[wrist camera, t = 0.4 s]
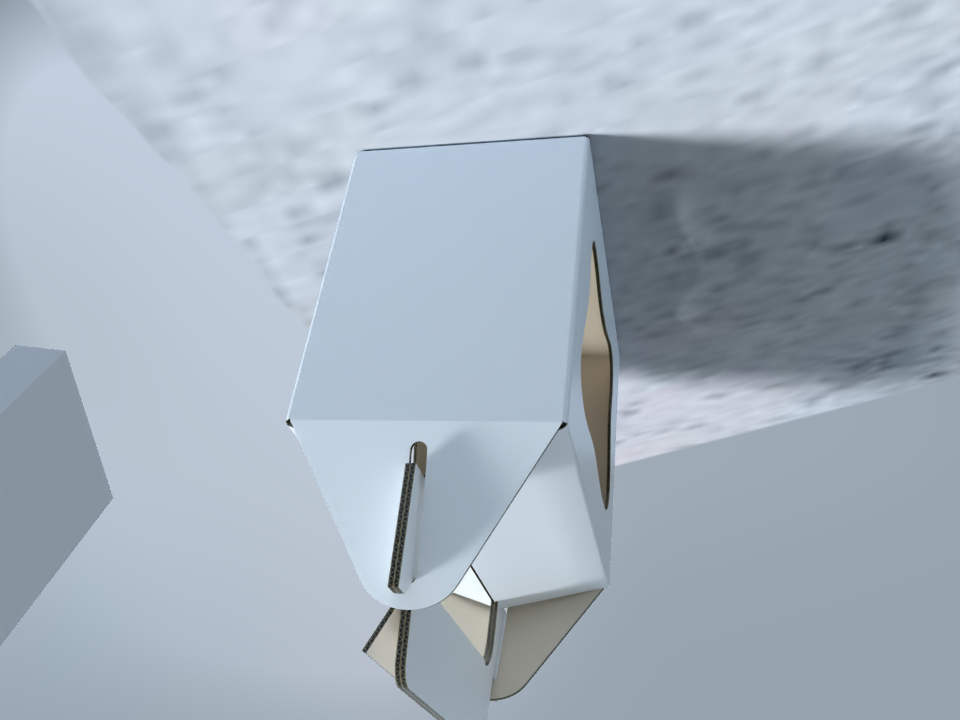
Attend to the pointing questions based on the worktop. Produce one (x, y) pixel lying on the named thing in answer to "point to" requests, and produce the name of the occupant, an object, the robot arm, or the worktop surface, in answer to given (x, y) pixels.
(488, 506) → the gable box
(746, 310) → the worktop surface
